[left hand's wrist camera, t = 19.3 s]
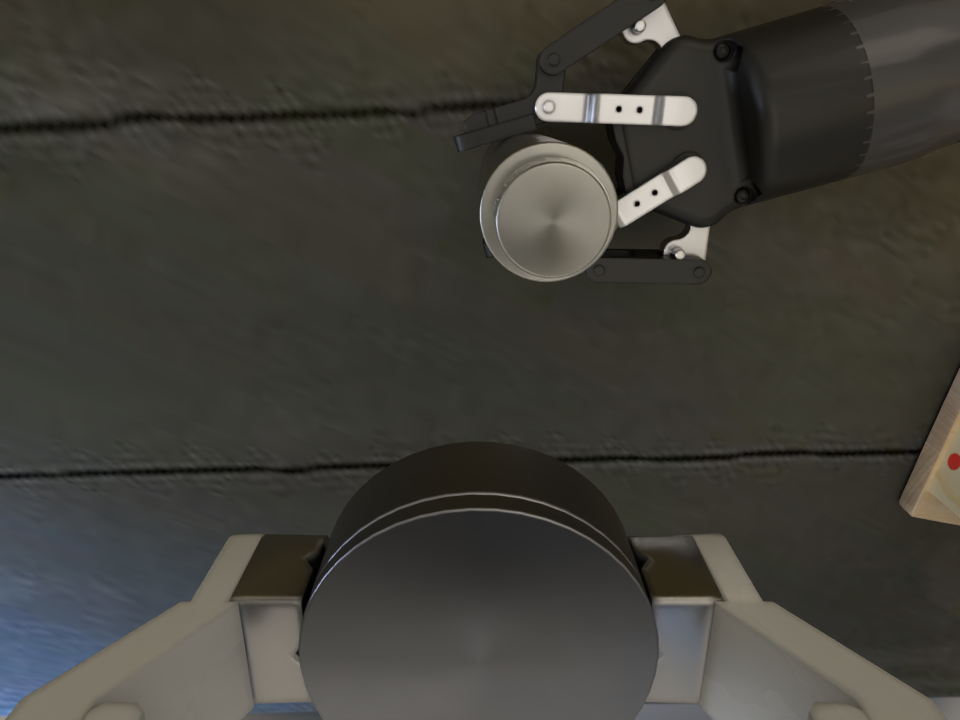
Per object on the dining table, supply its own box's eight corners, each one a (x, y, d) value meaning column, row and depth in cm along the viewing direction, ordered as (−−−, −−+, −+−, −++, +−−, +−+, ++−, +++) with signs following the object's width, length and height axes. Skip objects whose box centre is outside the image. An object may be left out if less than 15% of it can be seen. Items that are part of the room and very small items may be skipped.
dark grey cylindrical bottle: (569, 140, 36) (648, 163, 19) (548, 218, 38) (603, 308, 20) (492, 121, 36) (499, 126, 18) (474, 201, 38) (464, 276, 20)
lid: (280, 626, 11) (244, 720, 9) (406, 386, 9) (391, 446, 8) (536, 726, 12) (546, 830, 10) (690, 520, 10) (732, 601, 8)
